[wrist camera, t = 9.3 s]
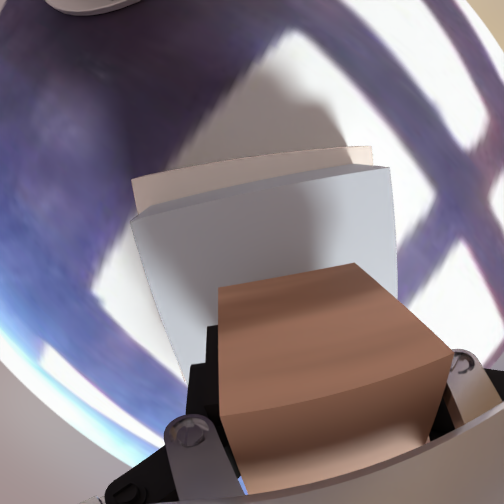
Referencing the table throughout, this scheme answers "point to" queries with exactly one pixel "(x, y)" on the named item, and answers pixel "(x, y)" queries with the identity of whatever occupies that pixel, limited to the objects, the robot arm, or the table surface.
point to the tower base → (239, 173)
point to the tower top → (261, 241)
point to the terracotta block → (323, 376)
